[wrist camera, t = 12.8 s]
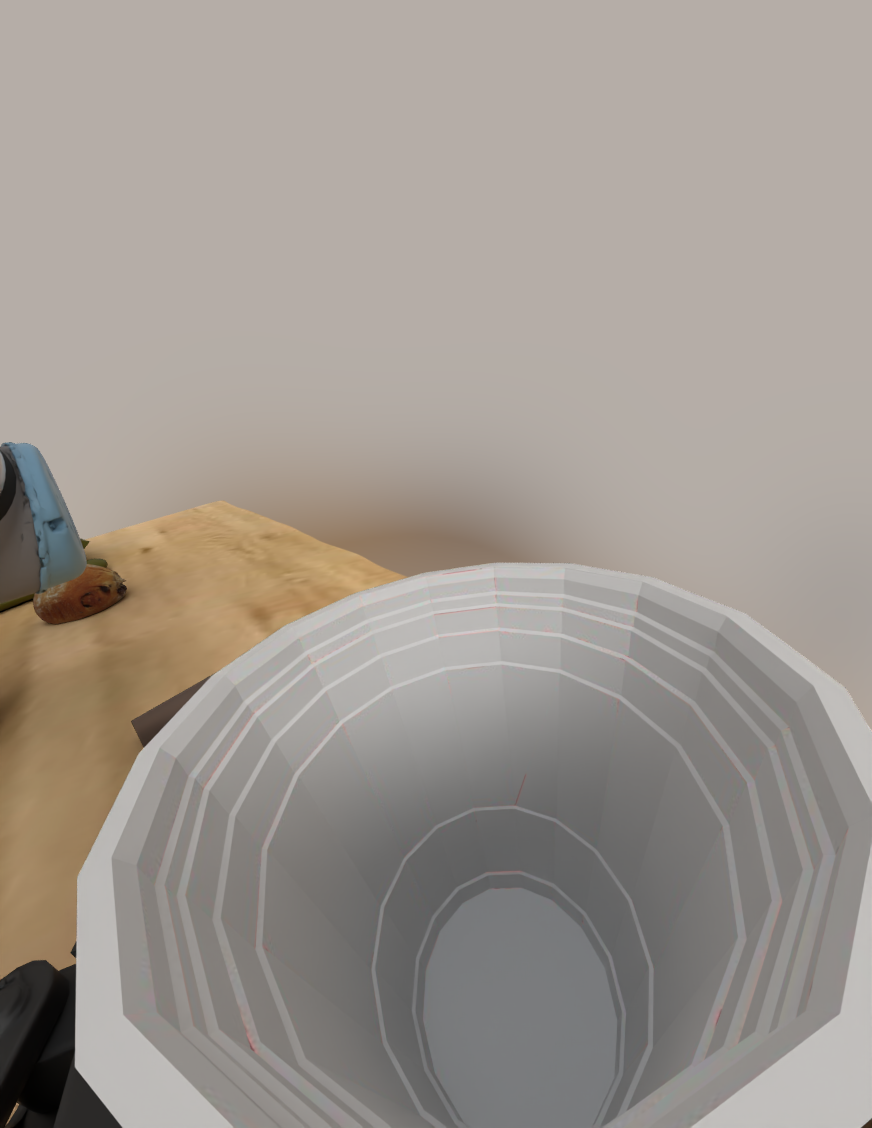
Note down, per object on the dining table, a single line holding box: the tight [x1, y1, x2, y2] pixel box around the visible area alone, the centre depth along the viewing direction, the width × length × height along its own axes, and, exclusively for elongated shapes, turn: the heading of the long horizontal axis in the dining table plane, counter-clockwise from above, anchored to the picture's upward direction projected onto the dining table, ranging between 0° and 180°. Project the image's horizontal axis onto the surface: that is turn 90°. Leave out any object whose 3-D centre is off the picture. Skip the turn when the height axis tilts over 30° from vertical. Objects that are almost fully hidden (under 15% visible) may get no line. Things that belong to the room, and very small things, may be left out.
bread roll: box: [33, 564, 127, 624], centre depth 58 cm, size 10×10×8 cm
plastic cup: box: [75, 563, 872, 1128], centre depth 9 cm, size 11×11×12 cm
